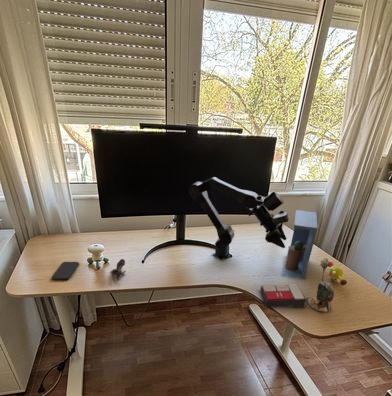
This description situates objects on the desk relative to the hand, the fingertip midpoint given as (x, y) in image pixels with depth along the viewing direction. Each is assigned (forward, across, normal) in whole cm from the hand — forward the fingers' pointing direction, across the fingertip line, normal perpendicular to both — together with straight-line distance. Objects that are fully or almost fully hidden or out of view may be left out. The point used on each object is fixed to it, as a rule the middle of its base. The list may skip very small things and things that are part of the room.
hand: (285, 243), depth 134 cm
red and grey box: (+10, -28, +7) cm, 31 cm away
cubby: (+13, +2, +4) cm, 14 cm away
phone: (-56, -40, +72) cm, 99 cm away
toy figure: (+25, -6, -8) cm, 27 cm away
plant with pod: (+20, -28, -3) cm, 35 cm away
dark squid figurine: (-39, -35, +56) cm, 76 cm away
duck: (+12, 0, +5) cm, 12 cm away
